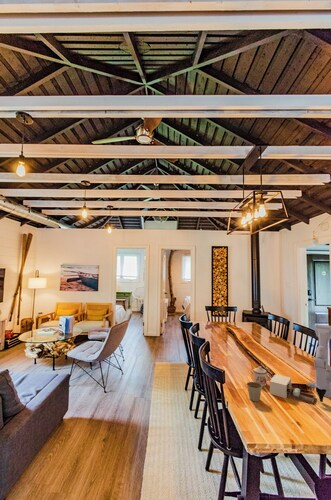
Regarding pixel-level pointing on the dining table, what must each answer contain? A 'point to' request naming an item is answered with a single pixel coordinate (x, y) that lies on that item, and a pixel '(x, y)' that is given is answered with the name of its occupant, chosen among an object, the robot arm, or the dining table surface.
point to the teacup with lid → (261, 376)
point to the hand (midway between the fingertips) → (321, 401)
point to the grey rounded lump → (296, 393)
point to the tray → (303, 397)
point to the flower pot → (254, 390)
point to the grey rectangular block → (280, 385)
